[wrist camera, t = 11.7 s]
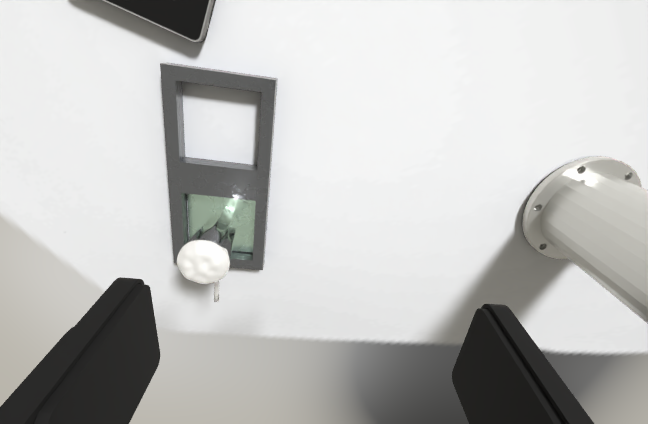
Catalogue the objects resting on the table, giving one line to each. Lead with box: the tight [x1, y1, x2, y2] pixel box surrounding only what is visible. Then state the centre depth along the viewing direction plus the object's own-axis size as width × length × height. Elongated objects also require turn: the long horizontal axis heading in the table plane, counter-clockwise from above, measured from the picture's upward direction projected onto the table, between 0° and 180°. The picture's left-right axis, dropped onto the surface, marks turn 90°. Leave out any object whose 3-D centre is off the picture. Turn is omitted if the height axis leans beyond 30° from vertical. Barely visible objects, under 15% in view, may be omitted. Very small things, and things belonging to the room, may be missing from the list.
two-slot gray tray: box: [160, 63, 277, 270], centre depth 35 cm, size 10×21×2 cm, turn 172°
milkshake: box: [177, 208, 238, 302], centre depth 33 cm, size 4×5×10 cm
